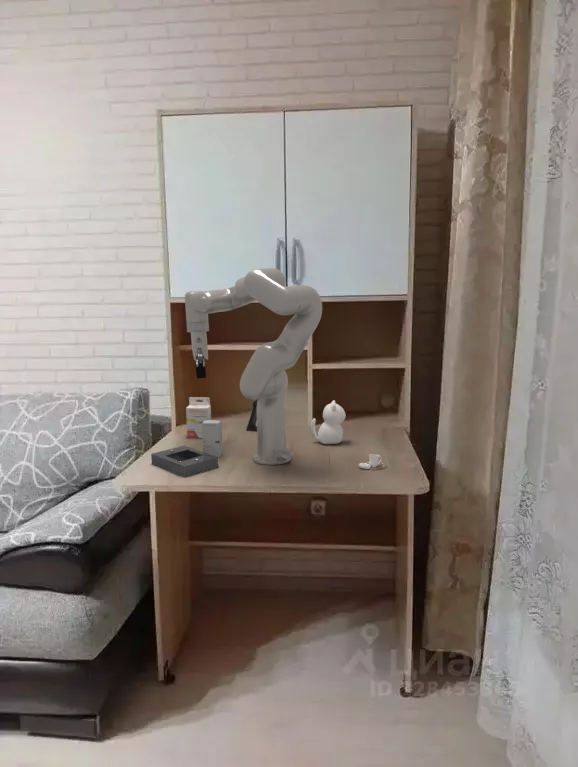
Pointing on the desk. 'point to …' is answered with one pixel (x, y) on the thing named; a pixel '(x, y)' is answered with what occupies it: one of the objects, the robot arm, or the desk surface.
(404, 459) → the desk surface
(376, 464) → the teacup and saucer
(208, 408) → the ink cartridge box
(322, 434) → the cat figurine
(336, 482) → the desk surface
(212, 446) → the skincare box
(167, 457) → the grey rectangular frame
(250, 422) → the phone stand
